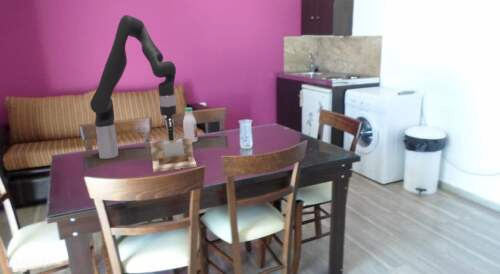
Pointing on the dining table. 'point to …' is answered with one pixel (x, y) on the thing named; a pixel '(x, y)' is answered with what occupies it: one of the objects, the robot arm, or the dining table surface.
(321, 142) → the dining table surface
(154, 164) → the woven pattern crate
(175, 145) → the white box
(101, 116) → the robot arm
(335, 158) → the dining table surface
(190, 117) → the milk bottle
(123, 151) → the dining table surface
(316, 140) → the dining table surface
